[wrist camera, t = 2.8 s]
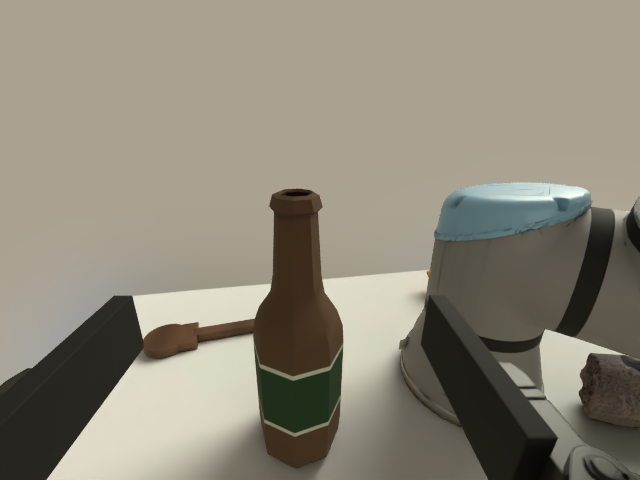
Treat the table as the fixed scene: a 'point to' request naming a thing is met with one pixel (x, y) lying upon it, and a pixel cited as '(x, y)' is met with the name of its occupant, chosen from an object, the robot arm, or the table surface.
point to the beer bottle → (298, 339)
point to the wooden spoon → (189, 336)
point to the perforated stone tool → (611, 389)
